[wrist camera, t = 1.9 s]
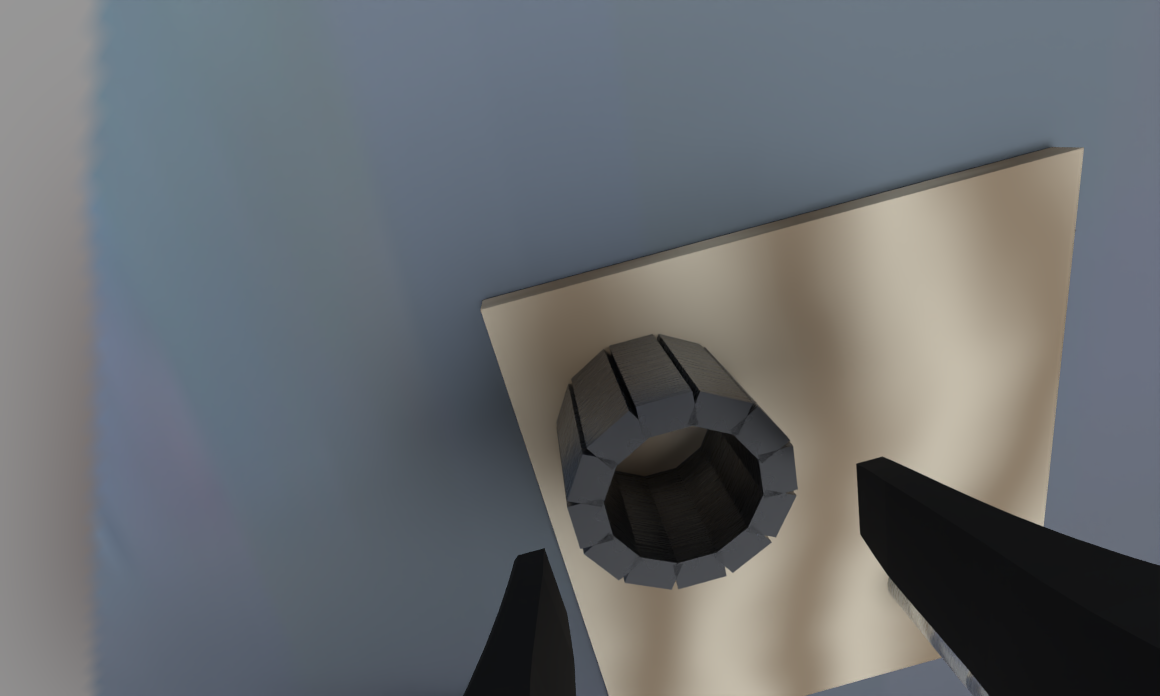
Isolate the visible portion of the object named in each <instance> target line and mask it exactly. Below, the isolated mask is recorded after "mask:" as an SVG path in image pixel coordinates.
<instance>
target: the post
mask: <svg viewBox="0 0 1160 696" xmlns="http://www.w3.org/2000/svg"><path fill="white" fill-rule="evenodd" d="M888 591H889V593H890V595H891V596H892V597H893V598H894V600H895V601H896V602H897V603H898V604H899V606H900V607H901V608H902V609H903V611H904V612H905V613H906V614H907V615H908V617H909V618H910V619H911V620H912V622H913V623H914V624H915V625H916V627H917V628H918V629H919V630H920V631H921V633H922V634H923V635H924V636H925V638H926V639H927V640H928V641H929V642H930V644H931V645H932V646H933V647H934V649H935V650H936V651H937V652H938V653H939V655H940V656H941V657H942V658H943V660H944V661H945V662H946V663H947V664H948V666H949V667H950V668H951V669H952V671H953V672H954V673H955V674H956V675H957V677H958V678H959V679H960V680H961V682H962V683H963V684H964V685H965V686H966V688H967V689H968V690H969V691H970V692H971V694H972V695H973V696H989V695H988V694H987V692H986V691H985V690H984V689H983V687H982V686H981V685H980V684H979V682H978V681H977V680H976V679H975V677H974V676H973V675H972V674H971V672H970V671H969V670H968V669H967V668H966V666H965V665H964V664H963V663H962V662H961V661H960V659H959V658H958V657H957V656H956V655H955V654H954V652H953V651H952V650H951V649H950V648H949V647H948V645H947V644H946V643H945V642H944V641H943V640H942V639H941V637H940V636H939V635H938V634H937V633H936V632H935V630H934V629H933V628H932V627H931V626H930V625H929V623H928V622H927V621H926V620H925V619H924V618H923V616H922V615H921V614H920V613H919V612H918V611H917V610H916V608H915V607H914V606H913V605H912V604H911V602H910V601H909V600H908V599H907V598H906V597H905V595H904V594H903V593H902V592H901V591H900V590H899V588H898V587H897V586H896V585H895V584H894V582H893V581H892V580H891V579H890V578H889V579H888Z"/></svg>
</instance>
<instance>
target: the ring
mask: <svg viewBox="0 0 1160 696" xmlns="http://www.w3.org/2000/svg"><path fill="white" fill-rule="evenodd" d="M609 348H610V352H611V355H610V354H609V353H607V352H606V351H605V350H604V349H603V350H602V351H600V352H599V353H598V354H597V355H596V356H595V357H594V358H593V359H592V360H591V361H590V362H589V363H588V364H586V365H585V366H584V367H583V368H582V369H581V370H580V371H579V372H578V373H577V374H576V375H575V376H574V377H572V378H571V380H572V384H568V385H567V389H566V392H565V395H564V399H563V402H562V405H561V408H560V412H559V415H558V418H557V422H556V423H557V427H556V428H557V436H558V443H559V451H560V458H561V465H562V473H563V480H564V488H565V495H566V503H567V509H568V512H569V515H570V518H571V521H572V525H573V528H574V531H575V534H576V537H577V540H578V544H579V547H580V549H583V553H584V555H586V556H587V557H588V558H590V559H591V560H592V561H594V562H595V563H596V564H598V565H599V566H600V567H602V568H603V569H604V570H605V571H607V572H608V573H609V574H611V575H612V576H613V577H615V578H616V579H617V580H620V579H622V578H624V582H625V583H628V584H635V585H642V586H649V587H656V588H662V589H669V590H672V588H673V586H674V584H675V581H676V584H677V587H678V589H682V588H685V587H689V586H693V585H696V584H700V583H704V582H707V581H711V580H714V579H718V578H722V577H725V576H727V575H726V570H725V567H726V568H727V569H729V570H730V571H731V572H732V573H734V572H735V571H736V570H737V569H739V568H740V567H741V566H742V565H744V564H745V563H746V562H748V561H749V560H750V559H751V558H753V557H754V556H755V555H757V554H758V553H759V552H760V551H762V550H763V549H764V548H765V547H767V546H768V545H769V544H771V543H772V542H771V540H770V539H769V537H768V536H771V537H777V535H778V533H779V531H780V529H781V526H782V524H783V522H784V520H785V518H786V516H787V514H788V512H789V510H790V508H791V506H792V504H793V502H794V500H795V498H796V496H797V495H796V494H795V493H794V490H798V486H797V476H796V467H795V458H794V449H793V445H792V444H791V443H790V442H789V441H790V439H789V438H788V437H787V436H786V435H785V433H784V432H783V431H782V430H781V429H780V428H779V427H778V426H777V425H776V423H775V422H774V421H773V420H772V419H771V418H770V417H769V416H768V415H767V414H766V412H765V411H764V410H763V409H762V408H761V407H760V406H759V405H758V404H757V402H756V401H755V400H754V399H753V398H752V397H751V396H750V395H749V394H748V393H747V391H746V390H745V389H744V388H743V387H742V386H741V385H740V384H739V383H738V381H737V380H736V379H735V378H734V377H733V376H732V375H731V374H730V373H729V372H728V371H727V370H726V369H725V367H724V366H723V365H722V364H721V363H720V362H719V361H718V360H717V359H716V358H715V357H714V356H713V355H712V354H711V353H710V352H709V351H708V350H707V348H706V347H704V348H703V347H702V346H701V345H700V344H698V343H694V342H690V341H686V340H682V339H678V338H674V337H670V336H666V335H662V334H658V337H657V340H656V338H655V337H654V335H653V334H650V335H647V336H643V337H639V338H635V339H632V340H628V341H624V342H621V343H617V344H613V345H610V346H609ZM690 426H696V427H701V428H705V429H707V432H706V434H705V437H704V439H703V442H702V444H701V446H700V448H699V449H697V450H696V451H695V452H694V453H693V454H692V455H690V456H689V457H688V458H687V459H686V460H684V461H683V462H682V463H681V464H680V465H679V466H677V467H676V468H673V469H669V470H666V471H662V472H658V473H655V474H651V475H647V476H642V475H636V474H631V473H626V472H620V471H615V469H616V466H617V465H619V464H620V463H621V462H622V461H623V460H624V459H625V458H627V457H628V456H629V455H630V454H631V453H632V452H633V451H635V450H636V449H637V448H638V447H639V446H640V445H641V444H643V443H644V442H645V441H646V440H647V439H648V438H650V437H654V436H657V435H661V434H665V433H668V432H672V431H676V430H679V429H683V428H687V427H690Z"/></svg>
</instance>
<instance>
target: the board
mask: <svg viewBox="0 0 1160 696" xmlns="http://www.w3.org/2000/svg"><path fill="white" fill-rule="evenodd" d="M1083 151H1084V148H1072V147H1051V148H1047V149H1043V150H1040V151H1036V152H1032V153H1029V154H1025V155H1021V156H1017V157H1014V158H1010V159H1006V160H1003V161H999V162H995V163H991V164H988V165H984V166H980V167H976V168H973V169H969V170H965V171H962V172H958V173H954V174H950V175H947V176H943V177H939V178H936V179H932V180H928V181H924V182H921V183H917V184H913V185H910V186H906V187H902V188H898V189H895V190H891V191H887V192H883V193H880V194H876V195H872V196H869V197H865V198H861V199H857V200H854V201H850V202H846V203H843V204H839V205H835V206H831V207H828V208H824V209H820V210H816V211H813V212H809V213H805V214H802V215H798V216H794V217H790V218H787V219H783V220H779V221H776V222H772V223H768V224H764V225H761V226H757V227H753V228H749V229H746V230H742V231H738V232H735V233H731V234H727V235H723V236H720V237H716V238H712V239H709V240H705V241H701V242H697V243H694V244H690V245H686V246H683V247H679V248H675V249H671V250H668V251H664V252H660V253H656V254H653V255H649V256H645V257H642V258H638V259H634V260H630V261H627V262H623V263H619V264H616V265H612V266H608V267H604V268H601V269H597V270H593V271H589V272H586V273H582V274H578V275H575V276H571V277H567V278H563V279H560V280H556V281H552V282H549V283H545V284H541V285H537V286H534V287H530V288H526V289H522V290H519V291H515V292H511V293H508V294H504V295H500V296H496V297H493V298H489V299H485V300H483V301H482V306H481V313H482V316H483V319H484V322H485V325H486V328H487V331H488V334H489V337H490V340H491V343H492V346H493V349H494V352H495V355H496V358H497V361H498V364H499V367H500V370H501V373H502V376H503V379H504V382H505V385H506V388H507V391H508V394H509V397H510V400H511V403H512V406H513V409H514V412H515V415H516V418H517V421H518V424H519V427H520V430H521V433H522V436H523V439H524V442H525V445H526V448H527V451H528V454H529V457H530V460H531V463H532V466H533V469H534V472H535V475H536V478H537V481H538V484H539V487H540V490H541V493H542V496H543V499H544V502H545V505H546V508H547V511H548V514H549V517H550V520H551V523H552V526H553V529H554V532H555V535H556V538H557V541H558V544H559V547H560V550H561V553H562V556H563V559H564V562H565V565H566V568H567V571H568V574H569V577H570V580H571V583H572V586H573V589H574V592H575V595H576V598H577V601H578V604H579V607H580V610H581V613H582V616H583V619H584V622H585V625H586V628H587V631H588V634H589V637H590V640H591V643H592V646H593V649H594V652H595V655H596V658H597V661H598V664H599V667H600V670H601V673H602V676H603V679H604V682H605V685H606V688H607V691H608V694H609V696H805V695H809V694H813V693H816V692H820V691H823V690H827V689H831V688H834V687H838V686H841V685H845V684H848V683H852V682H856V681H859V680H863V679H866V678H870V677H874V676H877V675H881V674H884V673H888V672H892V671H895V670H899V669H902V668H906V667H910V666H913V665H917V664H920V663H924V662H928V661H931V660H935V659H938V658H942V657H941V656H940V655H939V653H938V652H937V651H936V650H935V649H934V647H933V646H932V645H931V644H930V642H929V641H928V640H927V639H926V638H925V636H924V635H923V634H922V633H921V631H920V630H919V629H918V628H917V627H916V625H915V624H914V623H913V622H912V620H911V619H910V618H909V617H908V615H907V614H906V613H905V612H904V611H903V609H902V608H901V607H900V606H899V604H898V603H897V602H896V601H895V600H894V598H893V597H892V596H891V595H890V593H889V591H888V579H889V576H888V575H887V574H886V572H885V571H884V569H883V568H882V566H881V565H880V564H879V562H878V561H877V559H876V558H875V556H874V555H873V553H872V552H871V550H870V549H869V547H868V546H867V544H866V543H865V541H864V539H863V538H862V536H861V535H860V525H859V507H858V488H857V470H856V463H860V462H864V461H867V460H871V459H875V458H879V457H882V456H883V457H885V458H887V459H890V460H892V461H894V462H897V463H899V464H901V465H903V466H905V467H908V468H910V469H912V470H914V471H916V472H918V473H921V474H923V475H925V476H927V477H929V478H931V479H933V480H936V481H938V482H940V483H942V484H944V485H946V486H949V487H951V488H953V489H955V490H957V491H960V492H962V493H964V494H966V495H968V496H971V497H973V498H975V499H978V500H980V501H982V502H984V503H987V504H989V505H991V506H994V507H996V508H998V509H1001V510H1003V511H1005V512H1008V513H1010V514H1013V515H1015V516H1018V517H1020V518H1023V519H1025V520H1028V521H1030V522H1033V523H1035V524H1038V525H1040V526H1044V516H1045V507H1046V497H1047V488H1048V479H1049V469H1050V460H1051V451H1052V441H1053V432H1054V423H1055V413H1056V404H1057V394H1058V385H1059V376H1060V366H1061V357H1062V348H1063V338H1064V329H1065V319H1066V310H1067V301H1068V291H1069V282H1070V273H1071V263H1072V254H1073V244H1074V235H1075V226H1076V216H1077V207H1078V198H1079V188H1080V179H1081V170H1082V160H1083ZM650 334H653V335H654V337H655V338H656V340H657V337H658V334H662V335H666V336H670V337H674V338H678V339H682V340H686V341H690V342H694V343H698V344H700V345H701V346H702V347H703V348H704V347H706V348H707V350H708V351H709V352H710V353H711V354H712V355H713V356H714V357H715V358H716V359H717V360H718V361H719V362H720V363H721V364H722V365H723V366H724V367H725V369H726V370H727V371H728V372H729V373H730V374H731V375H732V376H733V377H734V378H735V379H736V380H737V381H738V383H739V384H740V385H741V386H742V387H743V388H744V389H745V390H746V391H747V393H748V394H749V395H750V396H751V397H752V398H753V399H754V400H755V401H756V402H757V404H758V405H759V406H760V407H761V408H762V409H763V410H764V411H765V412H766V414H767V415H768V416H769V417H770V418H771V419H772V420H773V421H774V422H775V423H776V425H777V426H778V427H779V428H780V429H781V430H782V431H783V432H784V433H785V435H786V436H787V437H788V438H789V439H790V441H789V442H790V443H791V444H792V445H793V449H794V458H795V467H796V476H797V486H798V490H794V493H795V494H796V495H797V496H796V498H795V500H794V502H793V504H792V506H791V508H790V510H789V512H788V514H787V516H786V518H785V520H784V522H783V524H782V526H781V529H780V531H779V533H778V535H777V537H771V536H768V537H769V539H770V540H771V542H772V543H771V544H769V545H768V546H767V547H765V548H764V549H763V550H762V551H760V552H759V553H758V554H757V555H755V556H754V557H753V558H751V559H750V560H749V561H748V562H746V563H745V564H744V565H742V566H741V567H740V568H739V569H737V570H736V571H735V572H734V573H732V572H731V571H730V570H729V569H727V568H726V567H725V570H726V575H727V576H725V577H722V578H718V579H714V580H711V581H707V582H704V583H700V584H696V585H693V586H689V587H685V588H682V589H678V587H677V584H676V581H675V584H674V586H673V588H672V590H669V589H662V588H656V587H649V586H642V585H635V584H628V583H625V582H624V578H622V579H620V580H617V579H616V578H615V577H613V576H612V575H611V574H609V573H608V572H607V571H605V570H604V569H603V568H602V567H600V566H599V565H598V564H596V563H595V562H594V561H592V560H591V559H590V558H588V557H587V556H586V555H584V553H583V549H580V547H579V544H578V540H577V537H576V534H575V531H574V528H573V525H572V521H571V518H570V515H569V512H568V509H567V503H566V495H565V488H564V480H563V473H562V465H561V458H560V451H559V443H558V436H557V428H556V427H557V423H556V422H557V418H558V415H559V412H560V408H561V405H562V402H563V399H564V395H565V392H566V389H567V385H568V384H572V380H571V378H572V377H574V376H575V375H576V374H577V373H578V372H579V371H580V370H581V369H582V368H583V367H584V366H585V365H586V364H588V363H589V362H590V361H591V360H592V359H593V358H594V357H595V356H596V355H597V354H598V353H599V352H600V351H602V350H603V349H604V350H605V351H606V352H607V353H609V354H610V355H611V352H610V348H609V346H610V345H613V344H617V343H621V342H624V341H628V340H632V339H635V338H639V337H643V336H647V335H650ZM706 432H707V429H705V428H701V427H696V426H690V427H687V428H683V429H679V430H676V431H672V432H668V433H665V434H661V435H657V436H654V437H650V438H648V439H647V440H646V441H645V442H644V443H643V444H641V445H640V446H639V447H638V448H637V449H636V450H635V451H633V452H632V453H631V454H630V455H629V456H628V457H627V458H625V459H624V460H623V461H622V462H621V463H620V464H619V465H617V466H616V469H615V471H620V472H626V473H631V474H636V475H642V476H647V475H651V474H655V473H658V472H662V471H666V470H669V469H673V468H676V467H677V466H679V465H680V464H681V463H682V462H683V461H684V460H686V459H687V458H688V457H689V456H690V455H692V454H693V453H694V452H695V451H696V450H697V449H699V448H700V446H701V444H702V442H703V439H704V437H705V434H706Z"/></svg>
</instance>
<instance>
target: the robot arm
mask: <svg viewBox="0 0 1160 696" xmlns="http://www.w3.org/2000/svg"><path fill="white" fill-rule="evenodd" d="M856 470H857V488H858V507H859V525H860V535H861V536H862V538H863V539H864V541H865V543H866V544H867V546H868V547H869V549H870V550H871V552H872V553H873V555H874V556H875V558H876V559H877V561H878V562H879V564H880V565H881V566H882V568H883V569H884V571H885V572H886V574H887V575H888V576H889V578H890V579H891V580H892V581H893V582H894V584H895V585H896V586H897V587H898V588H899V590H900V591H901V592H902V593H903V594H904V595H905V597H906V598H907V599H908V600H909V601H910V602H911V604H912V605H913V606H914V607H915V608H916V610H917V611H918V612H919V613H920V614H921V615H922V616H923V618H924V619H925V620H926V621H927V622H928V623H929V625H930V626H931V627H932V628H933V629H934V630H935V632H936V633H937V634H938V635H939V636H940V637H941V639H942V640H943V641H944V642H945V643H946V644H947V645H948V647H949V648H950V649H951V650H952V651H953V652H954V654H955V655H956V656H957V657H958V658H959V659H960V661H961V662H962V663H963V664H964V665H965V666H966V668H967V669H968V670H969V671H970V672H971V674H972V675H973V676H974V677H975V679H976V680H977V681H978V682H979V684H980V685H981V686H982V687H983V689H984V690H985V691H986V692H987V694H988V695H989V696H1160V566H1159V565H1156V564H1152V563H1149V562H1146V561H1142V560H1139V559H1136V558H1132V557H1129V556H1126V555H1123V554H1120V553H1117V552H1114V551H1111V550H1108V549H1105V548H1102V547H1099V546H1096V545H1093V544H1090V543H1087V542H1084V541H1081V540H1078V539H1075V538H1072V537H1070V536H1067V535H1064V534H1061V533H1058V532H1056V531H1053V530H1051V529H1048V528H1045V527H1043V526H1040V525H1038V524H1035V523H1033V522H1030V521H1028V520H1025V519H1023V518H1020V517H1018V516H1015V515H1013V514H1010V513H1008V512H1005V511H1003V510H1001V509H998V508H996V507H994V506H991V505H989V504H987V503H984V502H982V501H980V500H978V499H975V498H973V497H971V496H968V495H966V494H964V493H962V492H960V491H957V490H955V489H953V488H951V487H949V486H946V485H944V484H942V483H940V482H938V481H936V480H933V479H931V478H929V477H927V476H925V475H923V474H921V473H918V472H916V471H914V470H912V469H910V468H908V467H905V466H903V465H901V464H899V463H897V462H894V461H892V460H890V459H887V458H885V457H883V456H882V457H879V458H875V459H871V460H867V461H864V462H860V463H856ZM463 696H576V688H575V667H574V656H573V649H572V642H571V636H570V629H569V623H568V616H567V612H566V609H565V606H564V603H563V601H562V598H561V595H560V592H559V589H558V586H557V583H556V580H555V578H554V575H553V572H552V569H551V566H550V563H549V560H548V557H547V555H546V552H545V549H540V550H536V551H533V552H529V553H525V554H522V555H518V556H517V558H516V559H515V561H514V564H513V568H512V572H511V575H510V578H509V582H508V585H507V588H506V591H505V594H504V597H503V600H502V603H501V606H500V609H499V612H498V614H497V617H496V620H495V622H494V625H493V627H492V630H491V633H490V635H489V638H488V641H487V643H486V646H485V648H484V650H483V653H482V655H481V657H480V660H479V662H478V664H477V666H476V669H475V671H474V673H473V675H472V678H471V680H470V682H469V685H468V687H467V689H466V691H465V693H464V695H463Z"/></svg>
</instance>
